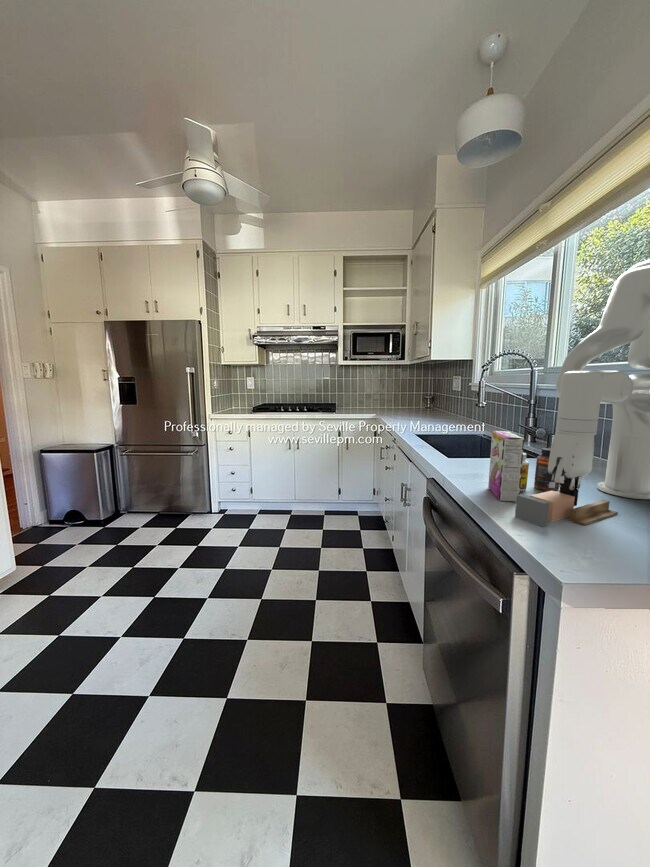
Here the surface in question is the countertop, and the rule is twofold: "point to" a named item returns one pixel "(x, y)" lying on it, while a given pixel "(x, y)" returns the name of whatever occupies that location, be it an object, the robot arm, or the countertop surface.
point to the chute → (591, 512)
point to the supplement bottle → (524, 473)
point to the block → (556, 504)
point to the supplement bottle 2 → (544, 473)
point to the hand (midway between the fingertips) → (567, 504)
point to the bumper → (532, 510)
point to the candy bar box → (505, 465)
